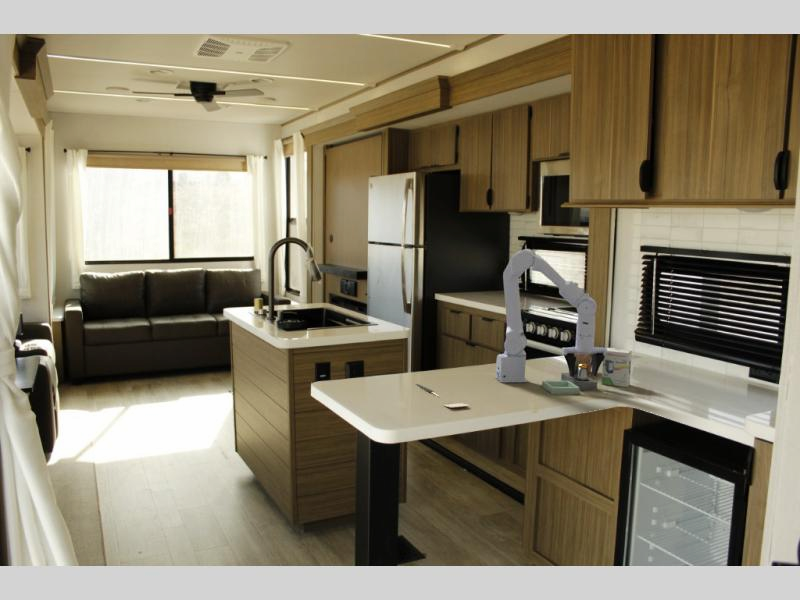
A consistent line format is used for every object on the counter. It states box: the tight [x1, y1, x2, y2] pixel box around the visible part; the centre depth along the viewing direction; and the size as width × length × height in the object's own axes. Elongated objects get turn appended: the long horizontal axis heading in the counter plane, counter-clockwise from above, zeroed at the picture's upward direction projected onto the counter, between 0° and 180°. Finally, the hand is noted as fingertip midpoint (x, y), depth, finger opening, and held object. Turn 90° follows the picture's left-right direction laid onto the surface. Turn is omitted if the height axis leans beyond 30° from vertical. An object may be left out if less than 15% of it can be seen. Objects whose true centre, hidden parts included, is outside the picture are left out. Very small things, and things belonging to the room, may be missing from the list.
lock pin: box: [578, 364, 589, 381], centre depth 223 cm, size 3×3×8 cm
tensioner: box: [560, 362, 598, 391], centre depth 226 cm, size 7×13×7 cm, turn 8°
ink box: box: [601, 347, 633, 388], centre depth 228 cm, size 9×5×12 cm, turn 62°
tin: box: [574, 354, 592, 374], centre depth 242 cm, size 15×3×8 cm, turn 143°
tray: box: [541, 380, 581, 395], centre depth 218 cm, size 9×9×2 cm
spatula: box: [415, 383, 470, 409], centre depth 208 cm, size 6×29×2 cm, turn 24°
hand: (582, 375), depth 223 cm, fingers open, 7 cm apart
